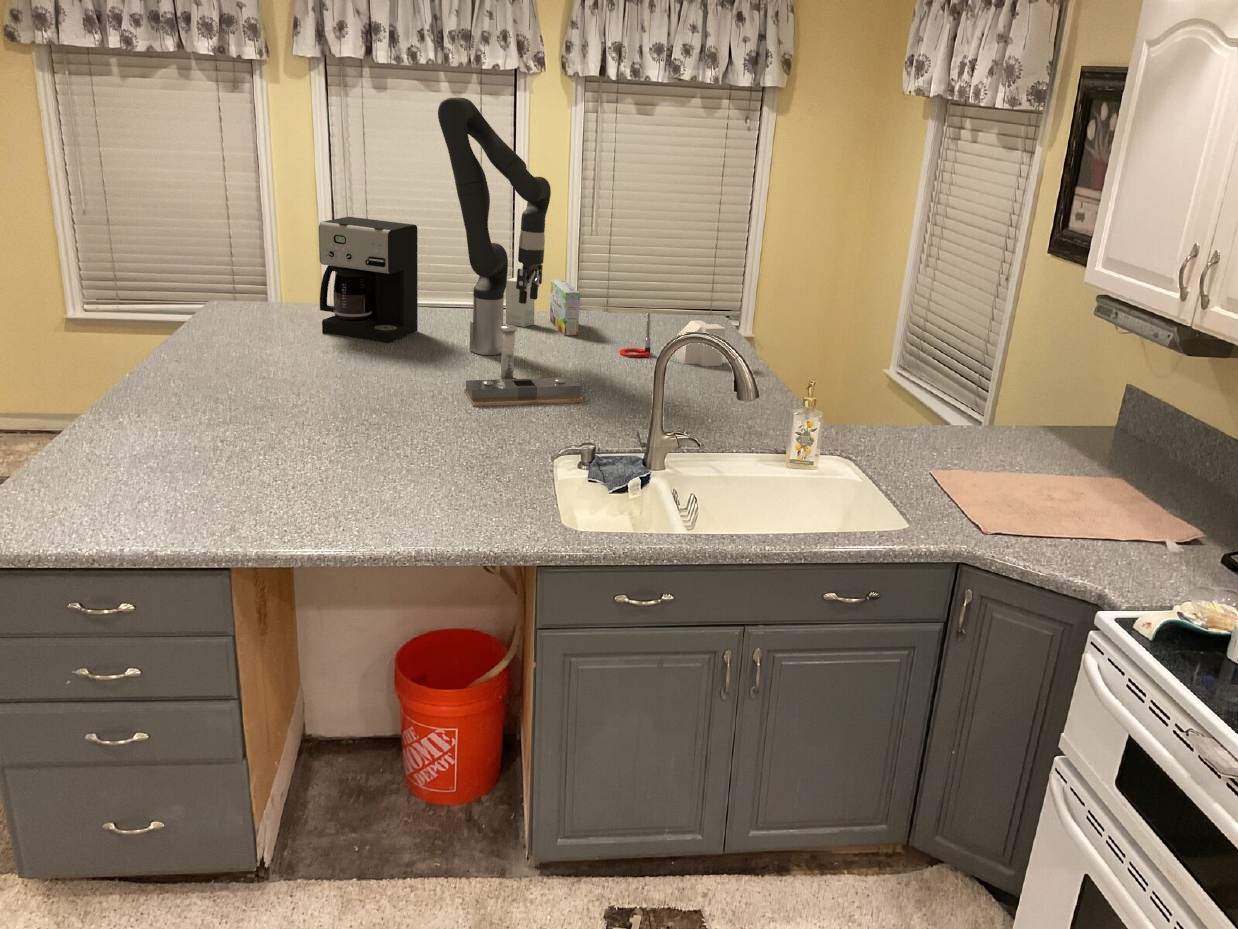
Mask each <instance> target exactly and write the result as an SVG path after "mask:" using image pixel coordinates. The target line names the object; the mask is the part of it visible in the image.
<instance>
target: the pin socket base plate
mask: <svg viewBox="0 0 1238 929" xmlns="http://www.w3.org/2000/svg"><path fill="white" fill-rule="evenodd" d="M463 391H464V392H463V393H464V395H465V396H466V398H467V399H468V400H469V402H470V404H471V405H472V406H473V407H487V406H488V407H489V406H492V407H493V406H515V405H542V404H543V405H544V404H563V403H564V404H568V403H569V404H570V403H584V398H583V397H582V385H581V384H580V383H579V382H578V381H577V380H576V379H575V378H574V377H572V376H571V377H570V376H569V377H544V378H542V377H541V378H539V377H538V378H536V377H535V378H513V379H502V378H500V379H475V380H474V379H472V380H471V379H469V380H465V388H464V390H463Z"/></svg>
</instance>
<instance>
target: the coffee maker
mask: <svg viewBox="0 0 1238 929" xmlns="http://www.w3.org/2000/svg"><path fill="white" fill-rule="evenodd" d="M318 245H319V246H318V247H319V263H320V264H321V265H323V266H326V269H325V271H324V273H323V275H322V278H321V283H320V289H319V291H320V292H319V311H322V312H329V313H333V314H334V315H332V316H329V317H327V318H324V319H322V321H321V332H322V334H326V335H332V336H333V335H334V336H339V337H346V338H352V339H358V340H366V341H371V342H378V343H385V344H391V343H394V342H396V341H399V340H401V339H403V338H405V337H407V336H410V335H413V334H415V333H416V332H418V329H419V328H418V327H419V326H418V325H419V324H418V320H419V319H418V313H419V312H418V300H419V299H418V225H416V224H413V223H412V224H411V223H405V222H404V223H403V222H396V221H388V220H381V219H380V220H379V219H373V218H372V219H371V218H363V217H354V216H345V217H339V218H334V219H330V220H325V221H321V222H320V223H319V225H318ZM333 272H334V273H335V272H336V274H335V277H334V282H333V305H328V294H329V293H328V291H329V285H330V280H331V275H332V273H333Z"/></svg>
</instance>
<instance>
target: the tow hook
mask: <svg viewBox="0 0 1238 929" xmlns="http://www.w3.org/2000/svg"><path fill="white" fill-rule="evenodd" d="M651 322H652V321H651V313H650V312H647V319H646V327H645V328H646V332H645V333H646V334H645V346H644V348H636V347H627V348H622V349H620V350H619V353H620V354H621V355H620V354H619V355H620V356H622V355H623V356H622V357H625V356H629V357H628V358H646V357H647V358H646V359H649V358H650V356H651V349H652V348H651V339H652V338H651V324H652V323H651ZM628 351H633V352H634V353H629V352H628Z"/></svg>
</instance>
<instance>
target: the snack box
mask: <svg viewBox="0 0 1238 929" xmlns="http://www.w3.org/2000/svg"><path fill="white" fill-rule="evenodd" d="M580 294H581V292H580V291H578V290H577V289H576V288H575V287H574V286H573V285H571V283H569V282H568V281H567V280H566V279H562V278H561V279H551V280H550V309H549V310H550V312H549V314H550V317H549V318H550V319H549V321H550V322H551V323H552V324H553V325H554V327H556V329H557V330H558V331H559V332H560V334H561V335H562V336H564V337H567V336H568V337H569V336H579V320H580V318H579V316H580V296H581V295H580Z"/></svg>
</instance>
